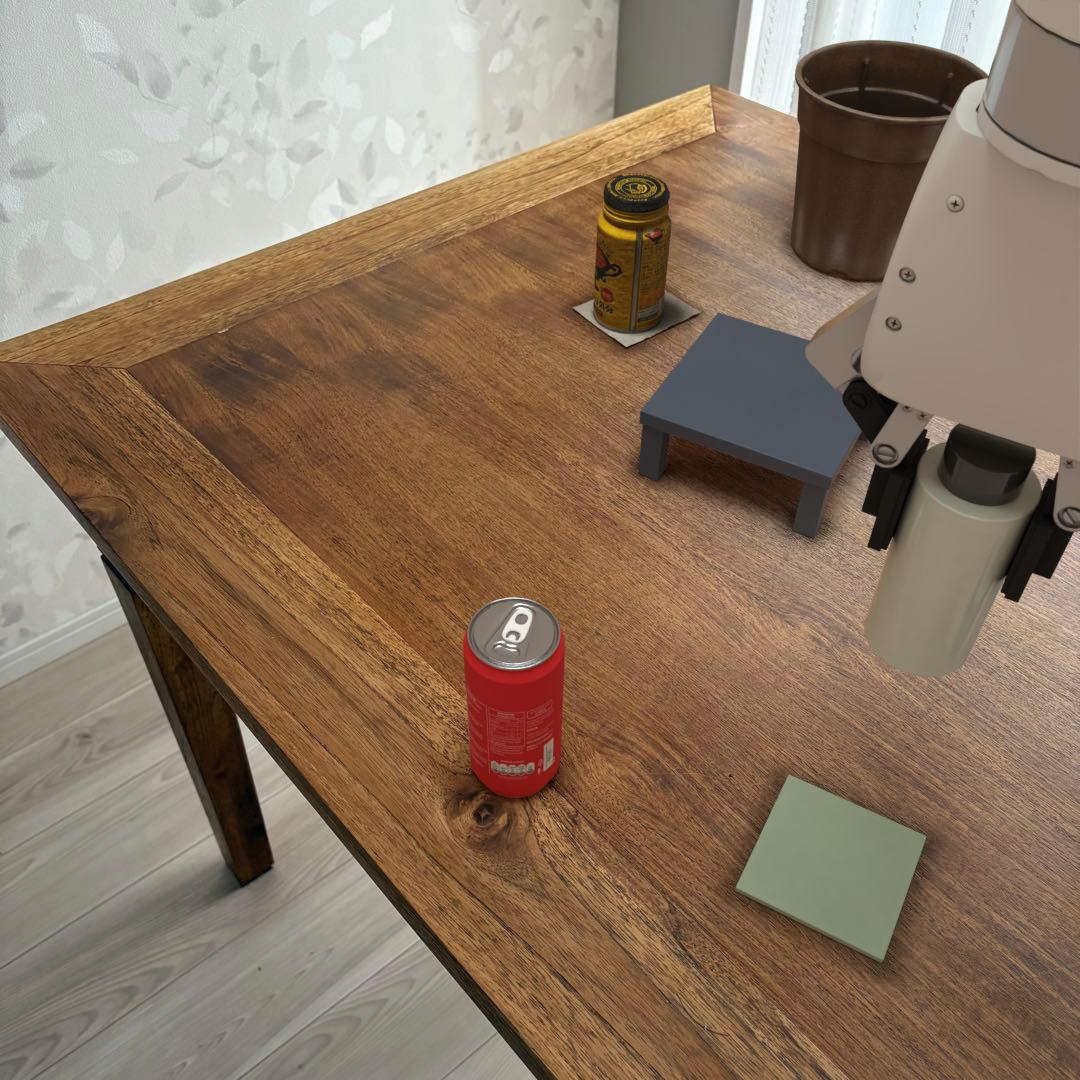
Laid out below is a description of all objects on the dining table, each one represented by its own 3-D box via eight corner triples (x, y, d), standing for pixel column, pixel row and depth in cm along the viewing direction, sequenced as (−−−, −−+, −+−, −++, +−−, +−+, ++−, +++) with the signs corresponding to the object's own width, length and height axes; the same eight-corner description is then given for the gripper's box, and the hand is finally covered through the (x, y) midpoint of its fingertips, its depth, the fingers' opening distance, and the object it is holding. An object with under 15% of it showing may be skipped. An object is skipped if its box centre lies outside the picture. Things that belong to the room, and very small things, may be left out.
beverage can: (456, 788, 63) (445, 655, 55) (490, 717, 66) (485, 582, 58) (542, 816, 62) (544, 685, 53) (572, 743, 65) (579, 609, 57)
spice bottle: (982, 621, 47) (1069, 430, 40) (955, 694, 45) (1043, 503, 37) (881, 583, 49) (947, 391, 41) (849, 651, 46) (913, 459, 39)
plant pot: (732, 227, 107) (757, 58, 95) (864, 189, 112) (902, 25, 101) (840, 313, 97) (882, 135, 85) (979, 267, 102) (1036, 94, 91)
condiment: (572, 309, 97) (576, 181, 88) (645, 278, 100) (657, 152, 92) (626, 349, 93) (636, 219, 84) (700, 315, 96) (717, 187, 88)
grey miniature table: (876, 429, 86) (894, 366, 81) (815, 541, 77) (832, 477, 73) (708, 374, 90) (718, 311, 86) (633, 474, 82) (640, 410, 78)
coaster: (925, 839, 61) (927, 835, 61) (881, 963, 56) (883, 960, 56) (787, 777, 64) (788, 773, 63) (734, 890, 59) (735, 887, 59)
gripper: (1492, 102, 29) (1195, 570, 43) (874, -17, 35) (779, 428, 48) (1504, 228, 25) (1167, 709, 38) (790, 67, 31) (711, 534, 44)
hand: (951, 548), depth 43 cm, fingers closed on spice bottle, 4 cm apart
